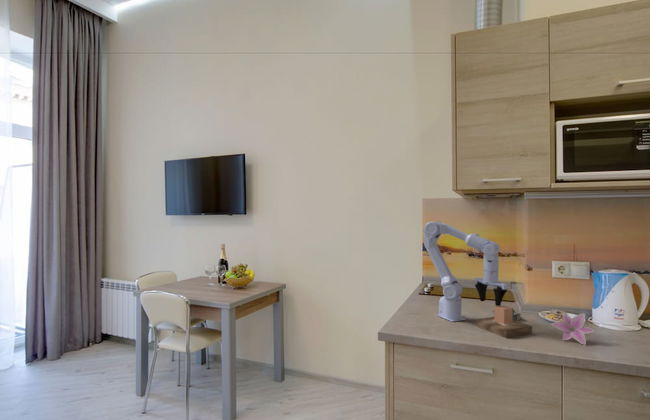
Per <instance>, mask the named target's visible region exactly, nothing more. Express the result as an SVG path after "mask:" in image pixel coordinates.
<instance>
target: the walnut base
mask: <svg viewBox="0 0 650 420" xmlns="http://www.w3.org/2000/svg"><path fill="white" fill-rule="evenodd" d="M476 326H477V327H478V328H480V329H483V330H484V331H488V332H490V333H492V334H495V335H497V336H500V337H503V338H505V339H508V338H513V337H514V336H515V337H520V335H521V336H527V335H531V333H532V334H533V326H532V325H530V324H527V323H524V322H521V321H520V320H514V319H512V323H510V324H501V323H498V322H496V321H494V317H493V316H491V317H485V318H477V319H476ZM515 337H514V338H515Z"/></svg>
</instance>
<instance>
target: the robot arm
mask: <svg viewBox="0 0 650 420" xmlns="http://www.w3.org/2000/svg"><path fill="white" fill-rule="evenodd" d="M422 232H423V245H424V248H425V249H426V252H427V254H428V256H429V257H430V260H431V262H432V264H433V266H434V268H435V270H436V272H437V274H438V276H439V277H440V279H441V281H440V282H441V284H440V285H441V287H442V293H443V296H441V297H440V299H439V302H438V314H436V316H438V317H439V318H441V319H444V320H447V321H449V322H459V321H460V322H461V321H466V320H467V318H465V317H462V296H461V295H462V294H463V292H464V291H463V290H464V288H463V285H462V284H461V283H460V282H459V281H458V279H457V278H456V277H455V276H454V274H452V272H451V270H450V268H449V266H448V264H447V262H446V259H445V257H444V256H443V254H442V252H441V250H440V249H439V246H438V244H437V242H438V240H439V238H440V236H442V235H445V234H446V235H449V236H452V237H454V238H457V239H460V240H461V241H464V242H465V244H466V245H467V246H468V247H469V248H472V249H474V250H476V251H479V252H482V253H483V265H482V266H483V275H482V277H483V278H482V277H481V278H480V277H475V278H474V283H476V284H474V286H475V288H476V290H477V293H478V297H479V301H480V302H486V296H487V288H488V286H489V287H493V288H492V290H493V293H494V303H495V305H494V306H501V305H502V302H503V298H504V297H505V294H506V293H507V292H508V283H506V284H505V283H503V282H500V281H499V265H500V264H499V252H500V251H501V248H500V247H501V246H500V245H499V244H498V243H497V242H495V241H493V240H492V241H491V240H490V239H489V238H484V237H482V236H480V234H479V233H476V232H475V233H473V232H472V233H469V234H467V233H466V232H464V231H462V230H460V229H458V228H456V227H454V226H452V225H450V224H448V223H445V222H441V221H439V220H438V221H429V222H427V223H426V224H425V225H424V228H423V229H422Z"/></svg>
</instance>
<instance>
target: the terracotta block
mask: <svg viewBox="0 0 650 420" xmlns="http://www.w3.org/2000/svg"><path fill="white" fill-rule="evenodd" d="M513 309H514V307H510V306H507V305H502V304H501V305H500V306H496V305H494V310H493V311H494V321H496V322H498V323H501V324H510V323H512V310H513Z"/></svg>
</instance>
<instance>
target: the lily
mask: <svg viewBox="0 0 650 420" xmlns="http://www.w3.org/2000/svg"><path fill="white" fill-rule="evenodd" d="M585 322H586V314H585V313H580V314H577V315H575V316H573V317H571V316H569V315H568V314H567V313H565V312H562V320H560V321H559V320H558V321H554V322H552V323H551V326H552V327H553V328H556V329H558V330H559V331H562V332H563V333H562V341H563V340H566V341H568V340H570V339H572V338H573V339H574V340H576V341H577V342H578V343H580V344H581V345H582V344H586V345H587V340H586V335H585V334H591V333H595V330H594V329H593V328H590V327H588V326H586V325H585Z"/></svg>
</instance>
